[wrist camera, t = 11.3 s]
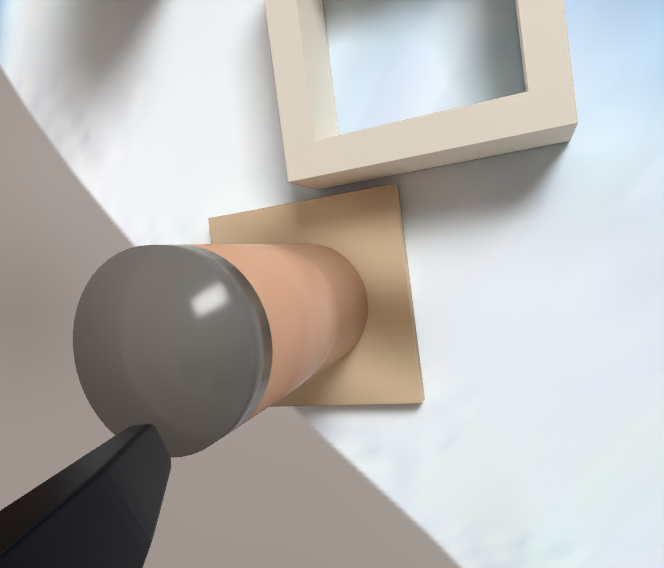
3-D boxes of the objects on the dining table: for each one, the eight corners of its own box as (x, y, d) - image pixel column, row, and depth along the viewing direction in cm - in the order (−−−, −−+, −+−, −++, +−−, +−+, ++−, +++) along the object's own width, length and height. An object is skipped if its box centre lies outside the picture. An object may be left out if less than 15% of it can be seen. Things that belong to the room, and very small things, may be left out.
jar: (391, 332, 21) (288, 406, 11) (289, 385, 23) (129, 487, 13) (329, 220, 21) (182, 203, 12) (234, 280, 23) (44, 307, 14)
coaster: (424, 398, 21) (421, 403, 21) (240, 403, 24) (234, 407, 24) (397, 185, 21) (394, 183, 20) (215, 219, 24) (208, 218, 24)
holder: (570, 140, 18) (577, 122, 16) (318, 189, 22) (288, 182, 19) (538, -140, 18) (540, -209, 15) (287, -43, 22) (253, -85, 19)
